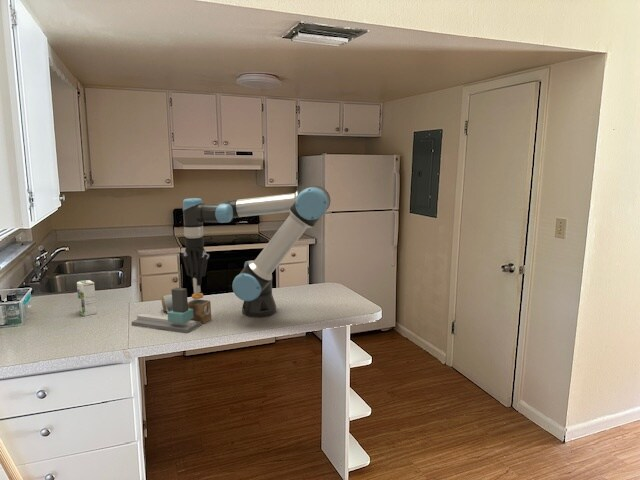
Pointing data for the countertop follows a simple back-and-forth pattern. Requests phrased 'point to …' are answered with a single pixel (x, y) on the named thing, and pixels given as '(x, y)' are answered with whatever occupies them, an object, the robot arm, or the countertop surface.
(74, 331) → the countertop surface
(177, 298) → the carriage
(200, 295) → the button
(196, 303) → the gauge cabinet
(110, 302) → the countertop surface
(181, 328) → the rail
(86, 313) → the syrup box
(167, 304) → the ceramic mug
